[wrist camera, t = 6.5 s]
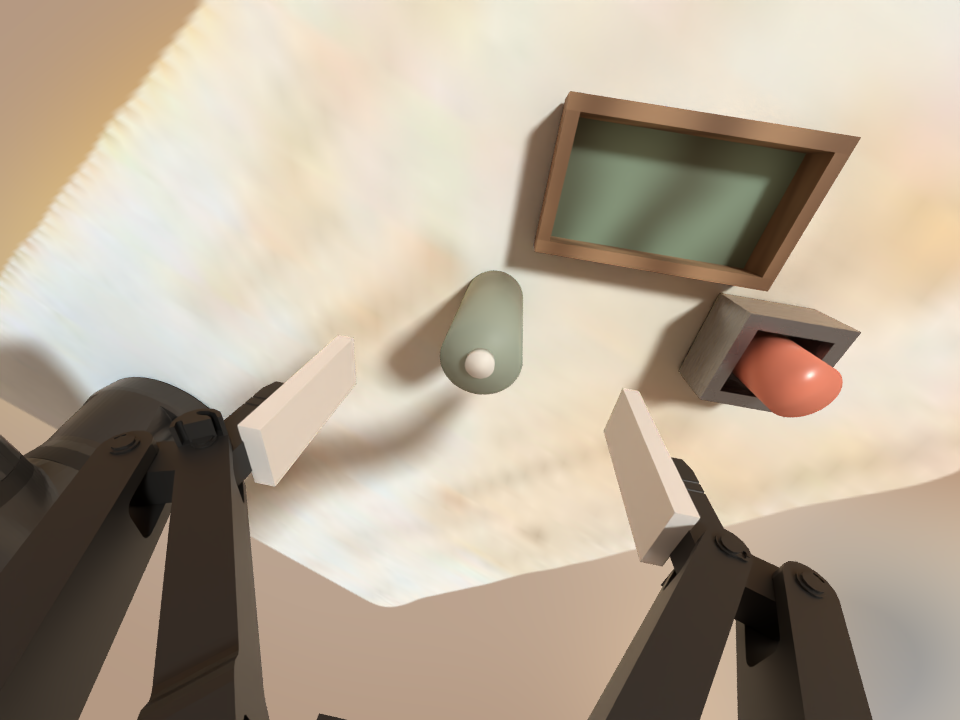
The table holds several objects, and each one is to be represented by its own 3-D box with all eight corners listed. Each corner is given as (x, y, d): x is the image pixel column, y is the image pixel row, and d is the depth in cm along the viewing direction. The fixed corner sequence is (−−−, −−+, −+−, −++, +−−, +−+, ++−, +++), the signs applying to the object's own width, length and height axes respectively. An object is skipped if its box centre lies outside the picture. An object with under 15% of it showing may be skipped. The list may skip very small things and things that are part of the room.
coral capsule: (709, 364, 27) (753, 411, 22) (735, 319, 25) (790, 359, 20) (759, 373, 27) (814, 422, 22) (789, 328, 25) (858, 371, 20)
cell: (463, 319, 29) (434, 392, 19) (469, 265, 26) (441, 320, 17) (516, 329, 28) (513, 406, 19) (528, 276, 26) (530, 335, 17)
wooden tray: (533, 244, 25) (534, 251, 23) (565, 98, 20) (570, 91, 18) (746, 280, 24) (767, 291, 22) (824, 140, 20) (861, 137, 18)
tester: (678, 371, 29) (699, 399, 25) (719, 292, 25) (751, 313, 22) (761, 385, 28) (793, 416, 25) (814, 309, 25) (861, 332, 21)
